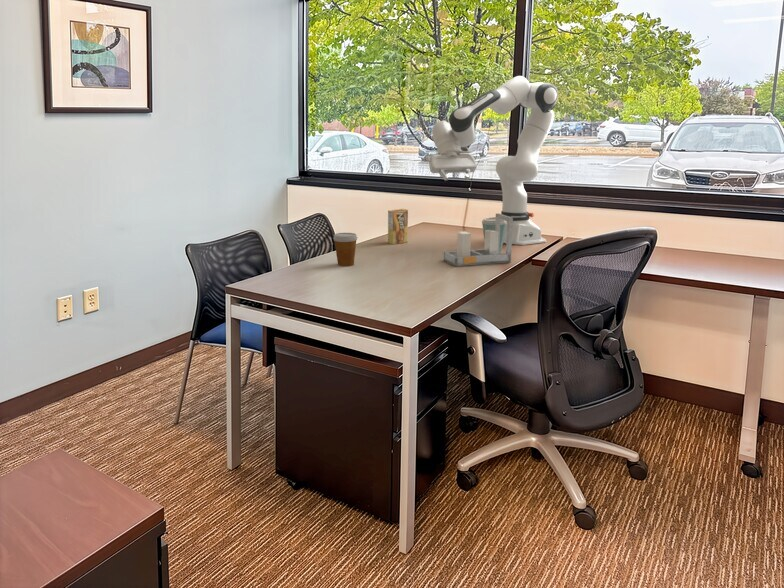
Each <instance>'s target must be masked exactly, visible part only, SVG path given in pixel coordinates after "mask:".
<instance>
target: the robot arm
mask: <svg viewBox="0 0 784 588" xmlns="http://www.w3.org/2000/svg"><path fill="white" fill-rule="evenodd" d="M558 96H559V92H558V88H557V87H556V86H555V85H554V84H552V83H549V82H533V83H532V82H531V83H530V82H529V80H528V79H527V78H526V77H525V76H522V75H517V76H514V77H512V78H510V79H509V80H507V81H506V82H504V83H503V84H501V85H500V86H499V87H497V88H495V89H490V90H488V91H486V92H484V93H483V94H481V95H480V96H477V97H476V98H475V99H473V100H472V101H469V102H467V104H465V105H463V106H460V107H458V108H456V109H454V110H453V111H452V112H451V113H450V114H449V117H448V121H447V120H440V121H438V122H436V123H435V124H434V125H433V127H432V131H431V132H432V133H431V135H432V140H433V143H434V145H435V147H436V152H437V153H429V154H427V156H426V160H427V162H428V167H429V170H430V171H429V172H431V173H432V174H439V176H441V177H442V178H443V180H444V181H449V179H450V178H449V174H455V173H456V174H457V173H459V174H461V173H464V174H465V175H464V179H465V180H466V181H468V180H470V178H471V175H470V173H475V171H476V170H477V167H478V166H477V165H478V164H477V161H476V159H475V157H474V156H473V154H472V153H471V149H470V148H469V146H471V145H473V144H474V142H475V140H476V137H477V136H476V130H475V123H474V122H475V120H476V117H477V116H478V115H480V114H481V113H483V112H484V111H486V110H487V109H489V108H490V110H492V112H494V113H495V114H498V115H507V114H508V113H510V112H511V111H513V110H514V109H515V108H516V107H517V106H520V107H522V108H524V109H530V114H529V117H528V119H527V120H526V123H525V124H524V126H523V128H522V130H521V132H520V134H519V136H518V139H517V140H516V141H517V142H516V143H517V146H518V147H517V150H516V154H515V155H507V156H503V157H501V158H500V159H498V160H497V162H496V165H495V172H496V174H497V176H498V177H499V181H500V186H501V191H502V209H501V212H500V214H502V215H506V216H509V217H512V218H513V226H512V245H518V246H527V245H532V244H533V245H534V244H541V243H547V239H546V238H544V237H542V231H541V228H540V227H539V226H538V225H537V224H536V223H534V221H533V220H531V218H533V217H534V215H535V214H534V212H528V211H527V209H528V208H527V207H528V193H527V192H526V190H525V188H524V187H525V186H524V183H527V182H531V181H534V180H535V178H537V176H538V174H539V165H538V159H539V154H540V151H541V148H542V147H543V145H544V143H545V141H546V138H547V136H548V135H549V132H550V131H551V128H552V125H553V122H554V119H555V113H554V111H553V110H554V108H556V105H557V104H556V103H557V101H558V98H559V97H558ZM507 222H508V221H507ZM506 243H507V224H506V229H505V234H504V240H503V244H506Z"/></svg>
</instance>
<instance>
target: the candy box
mask: <svg viewBox="0 0 784 588" xmlns="http://www.w3.org/2000/svg"><path fill="white" fill-rule="evenodd" d="M408 219H409V209H405V208H399V209H391V210H387V244H391V245H396V244H397V245H398V244H403V243H408V236H409V235H408V230H409V229H408V227H409V226H408V224H409V223H408V222H409V221H408Z"/></svg>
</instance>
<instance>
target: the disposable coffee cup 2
mask: <svg viewBox="0 0 784 588" xmlns="http://www.w3.org/2000/svg"><path fill="white" fill-rule="evenodd" d="M495 219H496V216H495V217H494V216H493V217H492V216H491V217H487V218H483V220H481V225H482V233H483V240H484V242H483V243H485V230H494V231H495ZM506 224H507V221H506V220H502V219H500V242H499V254H502V250H503V245H504V243H503V240H504V234H505V229H506Z"/></svg>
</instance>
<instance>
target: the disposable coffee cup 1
mask: <svg viewBox="0 0 784 588" xmlns="http://www.w3.org/2000/svg"><path fill="white" fill-rule="evenodd" d="M332 239H333V241H334V246H335V254H336V261H337V265H338V266H341V267H350V266H351V267H352V266H355V265H354V264H355V259H356V258H355V256H356V247H357V240H358V236H357V233H355V232H338V233H335V234H333V237H332Z"/></svg>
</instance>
